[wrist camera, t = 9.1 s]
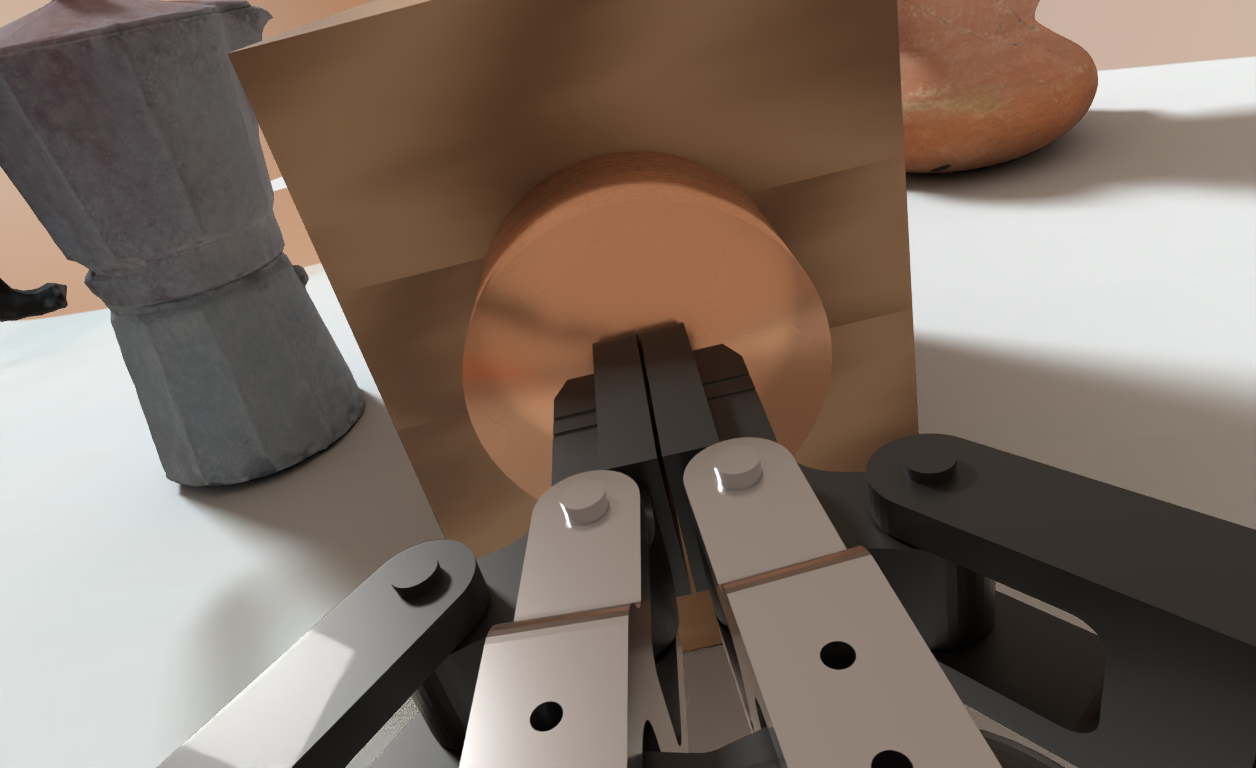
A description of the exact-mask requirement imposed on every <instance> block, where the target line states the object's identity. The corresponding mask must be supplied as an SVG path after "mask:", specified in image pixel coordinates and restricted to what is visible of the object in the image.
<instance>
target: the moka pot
mask: <svg viewBox="0 0 1256 768" xmlns="http://www.w3.org/2000/svg"><path fill="white" fill-rule="evenodd" d="M271 18H273V17H272V15H271V14H270V13H269V12H267V11H266V10H264V9H262V8H260V7H255V6H251V5H250V4H249V3H248V2H247V1H241V0H191V1H159V0H52V1H51V2H50V3H49V4H47V5H45V6H44V7H42V8H40V9H38V10H36V11H34V12H32V13H30V14H28V15H26V16H24V17H22V18H20V19H18V20H16V21H14V22H11V23H9V24H7V25H5V26H4V27H2V28H0V166H1V168H3V170H4V171H5V173H6V174H7V176H8V177H9V179H10V180H11V181H12V183H13V184H14V185H15V187H16V188H17V189H18V191H19V192H20V194H21V195H22V196H23V198H24V199H25V200H26V202H27V203H28V205H29V206H30V207H31V209H32V210H33V212H34V213H35V215H36V216H37V218H38V219H39V221H40V222H41V223H42V225H43V226H44V227H45V228H46V230H47V231H48V233H49V234H50V236H51V237H52V239H53V240H54V242H55V243H56V245H57V246H58V247H59V248H60V250H61V251H62V252H63V254H64V255H65V257H66V258H67V259H68V260H71V261H76V262H78V263H80V264H82V265H84V266H85V267H87V268H88V269H89V271H88V273H87V275H86V277H85V282H84V283H85V284H86V285H87V287H88V288H89V289H90V290H91V291H92V293H93V294H95V295H96V296H98V297H99V298H100V299H102V301H103V302H104V303H105V305H106V306H107V307H108V308H109V309H110V311H111V323H112V326H113V328H114V331H115V334H116V338H117V341H118V343H119V346H120V349H121V352H122V356H123V359H124V361H125V364H126V366H127V369H128V371H129V373H130V376H131V378H132V380H133V383H134V385H135V387H136V391H137V395H138V398H139V401H140V404H141V407H142V410H143V412H144V415H145V418H146V420H147V423H148V426H149V429H150V432H151V435H152V439H153V441H154V444H155V446H156V449H157V452H158V455H159V458H160V461H161V463H162V466H163V468H164V470H165V472H166V477H167V478H168V479H169V480H171V481H174V482H176V483H179V484H184V485H186V486H194V487H200V486H223V485H231V484H236V483H241V482H246V481H249V480H252V479H255V478H260V477H264V476H267V475H271V474H274V473H277V472H279V471H281V470H283V469H285V468H287V467H290V466H293V465H295V464H297V463H299V462H301V461H303V460H304V459H305V458H307V457H309V456H311V455H313V454H315V453H317V452H318V451H320V450H323V449H326V448H327V447H328V446H329V445H330V444H332V443H333V442H334V441H336V440H337V439H339V438H340V437H341V436H343V435H344V434H345V433H346V432H347V431H348V430H349V429H350V427H351V426H352V425H353V424H354V423H355V422H356V421H357V419H358V418H359V417H360V416H361V413H362V411H363V408H364V405H365V403H364V398H363V396H362V394H361V392H360V390H359V388H358V386H357V384H356V382H355V380H354V378H353V375H352V373H351V371H350V369H349V367H348V366H347V364H346V362H345V360H344V358H343V356H342V355H341V353H340V351H339V349H338V347H337V346H336V344H335V342H334V340H333V338H332V336H331V335H330V333H329V331H328V329H327V327H326V326H325V324H324V322H323V320H322V319H321V317H320V315H319V313H318V311H317V309H316V307H315V305H314V304H313V302H312V300H311V298H310V296H309V295H308V293H307V291H306V288H305V286H306V284H307V282H308V280H309V278H308V275H307V273H306V272H305V270H304V268H303V267H301V266H298V265H294V266H293V265H292V264H291V262H290V260H289V259H288V257H287V255H285V254H284V253H283V248H284V245H285V244H284V240H283V237H282V234H281V231H280V228H279V225H278V223H277V220H276V218H275V216H274V213H273V202H274V193H273V189H272V185H271V182H270V178H269V174H268V170H267V167H266V163H265V159H264V155H263V151H262V147H261V144H260V140H259V128H258V121H257V119H256V116H255V114H254V112H253V110H252V108H251V105H250V103H249V101H248V99H247V96H246V94H245V92H244V90H243V88H242V85H241V83H240V81H239V79H238V76H237V74H236V72H235V70H234V68H233V65H232V63H231V61H230V59H229V56H228V54H227V53H230V52H233V51H235V50H238V49H241V48H244V47H246V46H249V45H252V44H255V43H257V42H260V41H262V32H263V28H264V26H265V25H266V23H267V22H268V20H270V19H271ZM66 293H67V286H66V285H62V284H56V283H47V284H45V285H43V286H41V287H40V288H37V289H33V290H26V291H23V290H17V289H12V288H10V287H9V286H8V285H7V284H6V283H5V282H4V281H3V280H2V279H1V278H0V321H1V322H4V321H13V320H19V319H22V318H26V317H30V316H38V315H43V314H46V313H49V312H53V311H55V310H58V309H61V308H65V307H66V306H67V305H68V304H67V301H66Z"/></svg>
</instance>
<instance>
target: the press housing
mask: <svg viewBox="0 0 1256 768" xmlns="http://www.w3.org/2000/svg"><path fill="white" fill-rule="evenodd" d="M227 54H228V56H229V59H230V61H231V63H232V65H233V68H234V70H235V72H236V74H237V76H238V79H239V81H240V83H241V85H242V88H243V90H244V92H245V94H246V96H247V99H248V101H249V103H250V105H251V108H252V110H253V112H254V114H255V116H256V119H257V121H258V123H259V125H260V128H261V130H262V132H263V134H264V136H265V139H266V141H267V143H268V145H269V148H270V150H271V152H272V154H273V156H274V159H275V161H276V163H277V165H278V168H279V170H280V172H281V174H282V177H283V179H284V181H285V183H286V185H287V188H288V190H289V192H290V194H291V197H292V199H293V201H294V203H295V205H296V208H297V210H298V212H299V214H300V216H301V219H302V221H303V223H304V225H305V228H306V230H307V232H308V234H309V237H310V239H311V241H312V243H313V245H314V247H315V250H316V252H317V254H318V256H319V259H320V261H321V263H322V265H323V268H324V270H325V272H326V274H327V277H328V279H329V281H330V283H331V285H332V288H333V290H334V292H335V294H336V297H337V299H338V301H339V303H340V305H341V308H342V310H343V312H344V314H345V317H346V319H347V321H348V323H349V325H350V328H351V330H352V332H353V334H354V337H355V339H356V341H357V343H358V345H359V348H360V350H361V352H362V354H363V357H364V359H365V361H366V363H367V365H368V368H369V370H370V372H371V374H372V377H373V379H374V381H375V383H376V386H377V388H378V390H379V392H380V394H381V397H382V399H383V401H384V403H385V406H386V408H387V410H388V412H389V414H390V417H391V419H392V421H393V423H394V426H395V428H396V430H397V432H398V434H399V437H400V439H401V441H402V443H403V446H404V448H405V450H406V452H407V454H408V457H409V459H410V461H411V463H412V466H413V468H414V470H415V472H416V474H417V477H418V479H419V481H420V483H421V486H422V488H423V490H424V492H425V494H426V497H427V499H428V501H429V503H430V506H431V508H432V510H433V512H434V514H435V517H436V519H437V521H438V523H439V526H440V528H441V530H442V532H443V534H444V537H445V539H446V540H453V541H457V542H460V543H462V544H464V545H466V546H467V547H468V548H470V550H471V551H472V553H473V554H474V556H475V559H476V560H477V559H479V558H481V557H483V556H486V555H488V554H490V553H492V552H494V551H496V550H499V549H501V548H503V547H505V546H507V545H509V544H511V543H513V542H515V541H516V540H518V539H519V538H521V537H523V536H524V535H525V534H527V533H528V532H529V529H530V523H531V517H532V513H533V509H534V507H535V505H536V503H537V501H538V500H537V499H536V498H534V497H533V496H531V495H530V494H528V493H527V492H525V491H524V490H522V489H521V488H520V487H519V486H518V485H516V484H515V483H514V482H513V481H512V480H511V479H510V478H508V477H507V476H506V475H505V474H504V473H503V471H502V470H501V469H500V468H499V467H498V466H497V465H496V464H495V462H494V461H493V460H492V459H491V457H490V456H489V454H488V453H487V451H486V450H485V448H484V447H483V445H482V444H481V442H480V440H479V438H478V436H477V434H476V432H475V429H474V427H473V425H472V423H471V420H470V416H469V413H468V410H467V407H466V403H465V396H464V389H463V383H462V371H463V355H464V348H465V342H466V336H467V332H468V328H469V324H470V319H471V315H472V311H473V306H474V302H475V298H476V293H477V289H478V285H479V280H480V276H481V272H482V268H483V264H484V261H485V258H486V255H487V252H488V249H489V247H490V244H491V242H492V240H493V238H494V236H495V234H496V232H497V230H498V229H499V227H500V225H501V224H502V222H503V221H504V219H505V218H506V216H507V215H508V213H509V212H510V211H511V210H512V209H513V208H514V207H515V206H516V204H517V203H518V202H519V201H520V200H521V199H522V198H523V197H524V196H525V195H526V194H527V193H529V192H530V191H531V190H532V189H533V188H534V187H535V186H537V185H538V184H539V183H541V182H542V181H544V180H545V179H547V178H548V177H550V176H551V175H553V174H554V173H556V172H558V171H560V170H562V169H564V168H566V167H568V166H571V165H573V164H575V163H577V162H580V161H583V160H586V159H589V158H593V157H596V156H600V155H605V154H611V153H616V152H628V151H649V152H660V153H667V154H671V155H676V156H680V157H684V158H687V159H690V160H693V161H695V162H698V163H701V164H703V165H706V166H707V167H709V168H711V169H713V170H715V171H717V172H718V173H720V174H722V175H724V176H725V177H726V178H728V179H729V180H730V181H732V182H733V183H735V184H736V185H737V186H739V187H740V188H741V189H742V190H743V191H744V192H745V193H746V194H747V195H748V196H749V197H750V198H751V199H752V200H753V201H754V202H755V204H756V205H757V206H758V208H759V209H760V210H761V212H762V213H763V214H764V216H765V217H766V218H767V220H768V221H769V222H770V224H771V225H772V227H773V228H774V229H775V231H776V232H777V234H778V235H779V236H780V238H781V239H782V240H783V242H784V243H785V245H786V246H787V247H788V249H789V250H790V252H791V253H792V254H793V256H794V257H795V258H796V260H797V261H798V263H799V264H800V265H801V267H802V268H803V270H804V271H805V272H806V274H807V275H808V277H809V278H810V280H811V282H812V283H813V285H814V287H815V289H816V291H817V293H818V295H819V297H820V299H821V302H822V304H823V307H824V310H825V313H826V316H827V319H828V324H829V330H830V335H831V346H832V365H831V374H830V382H829V386H828V390H827V394H826V398H825V401H824V404H823V406H822V409H821V411H820V414H819V416H818V419H817V421H816V423H815V425H814V426H813V428H812V430H811V432H810V433H809V435H808V437H807V439H806V440H805V442H804V443H803V444H802V446H801V447H800V448H799V450H798V451H797V452H796V454H795V455H794V456H793V457H794V459H795V461H796V462H797V463H799V464H801V465H804V466H807V467H809V468H813V469H818V470H824V471H834V472H866V467H867V463H868V461H869V459H870V457H871V456H872V455H873V453H874V452H875V451H876V450H878V449H879V448H880V447H881V446H883V445H885V444H887V443H888V442H890V441H893V440H896V439H898V438H902V437H905V436H910V435H916V434H919V433H918V413H917V393H916V373H915V353H914V333H913V313H912V293H911V273H910V253H909V233H908V213H907V193H906V173H905V153H904V133H903V113H902V93H901V73H900V53H899V33H898V13H897V0H373V1H370V2H367V3H365V4H362V5H359V6H357V7H354V8H351V9H348V10H345V11H343V12H340V13H337V14H335V15H332V16H329V17H326V18H323V19H321V20H318V21H316V22H313V23H310V24H307V25H304V26H302V27H299V28H296V29H293V30H291V31H288V32H285V33H282V34H280V35H277V36H274V37H271V38H269V39H266V40H263V41H260V42H257V43H255V44H252V45H249V46H246V47H244V48H241V49H238V50H235V51H233V52H230V53H227ZM678 523H679V522H678ZM679 529H680V525H679ZM680 534H681V539H682V545H683V550H684V555H685V561H686V566H687V571H688V577H689V582H690V587H691V592H692V594H689V595H684V596H679V597H676V601H677V607H678V613H679V626H678V632H679V636H680V639H681V644H682V652H686V651H690V650H695V649H699V648H704V647H709V646H713V645H718V644H722V640H721V637H720V632H719V628H718V624H717V620H716V616H715V611H714V608H713V603H712V599H711V595H710V591H709V590H706V591H701V592H697V593H696V589H695V585H694V581H693V577H692V573H691V569H690V565H689V561H688V557H687V553H686V549H685V545H684V541H683V537H682V533H681V529H680Z"/></svg>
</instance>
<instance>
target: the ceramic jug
mask: <svg viewBox="0 0 1256 768" xmlns="http://www.w3.org/2000/svg"><path fill="white" fill-rule="evenodd" d="M1039 1H1040V0H897V13H898V33H899V53H900V73H901V93H902V113H903V133H904V153H905V172H913V173H945V172H956V171H964V170H971V169H976V168H982V167H986V166H992V165H995V164H1000V163H1003V162H1007V161H1010V160H1013V159H1016V158H1019V157H1021V156H1024V155H1026V154H1029V153H1031V152H1033V151H1036V150H1038V149H1040V148H1042V147H1044V146H1046V145H1047V144H1049V143H1051V142H1053V141H1054V140H1056V139H1057V138H1059V137H1060V136H1062V135H1063V134H1064V133H1066V132H1067V131H1068V130H1070V129H1071V128H1072V127H1073V126H1074V125H1076V124H1077V123H1078V122H1079V121H1080V120H1081V119H1082V117H1083V116H1084V115H1085V114H1086V112H1087V111H1088V109H1089V108H1090V106H1091V104H1092V102H1093V99H1094V97H1095V94H1096V91H1097V86H1098V75H1097V69H1096V66H1095V64H1094V62H1093V59H1092V58H1091V56H1090V55H1089V53H1087V51H1085V50H1084V49H1083V48H1082V47H1081V46H1079V45H1078V44H1076V43H1074V42H1072V41H1071V40H1069V39H1067V38H1065V37H1062V36H1061V35H1059V34H1057V33H1055V32H1053V31H1051V30H1050V29H1048V28H1046V27H1044V26H1042V25H1041V24H1039V23H1038V22H1037V21H1036V20H1035V18H1034V17H1035V10H1036V7H1037V5H1038V3H1039Z"/></svg>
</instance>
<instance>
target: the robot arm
mask: <svg viewBox="0 0 1256 768" xmlns="http://www.w3.org/2000/svg"><path fill="white" fill-rule="evenodd" d="M640 337H641V342H642V348H643V353H644V359H645V364H646V369H645V365H644V361H643V357H642V353H641V349H640V345H639V341H638V338H637V334H636V333H634V334H630V335H626V336H621V337H617V338H613V339H609V340H604V341H600V342H596V343H593V344H592V349H593V365H594V374H590V375H586V376H581V377H577V378H573V379H568V380H567V381H566V382H565V384H564V385H563V387H562V388H561V390H560V391H559V393H558V394H557V396H556V397H555V399H554V414H553V419H554V422H553V436H554V438H553V449H552V483H551V488H550V489H548V490H547V491H546V492H545V493H544V494H543V495H542V496H541V497H540V499H539V500H538V501H537V503H536V505H535V507H534V509H533V513H532V517H531V523H530V529H529V532H528V533H527V534H525V535H524V536H523V537H521V538H519V539H518V540H516V541H515V542H513V543H511V544H509V545H507V546H505V547H503V548H501V549H499V550H496V551H494V552H492V553H490V554H488V555H486V556H483V557H481V558H479V559H477V560H476V559H475V556H474V554H473V553H472V551H471V550H470V548H468V547H467V546H466V545H464V544H462V543H460V542H457V541H453V540H433V541H428V542H424V543H420V544H417V545H415V546H412V547H410V548H407V549H405V550H403V551H402V552H400V553H398V554H396V555H395V556H393V557H392V558H390V559H389V560H388V561H386V562H385V563H384V564H383V565H382V566H380V567H379V568H378V569H377V570H376V571H375V572H374V573H373V574H372V575H370V576H369V577H368V578H367V579H366V580H365V581H364V582H363V583H362V584H360V585H359V586H358V587H357V588H356V589H355V590H354V591H353V592H351V593H350V594H349V595H348V596H347V597H346V598H345V599H344V600H343V601H341V602H340V603H339V604H338V605H337V606H336V607H335V608H334V609H333V610H331V611H330V612H329V613H328V614H327V615H326V616H325V617H324V618H323V619H321V620H320V621H319V622H318V623H317V624H316V625H315V626H314V627H313V628H311V629H310V630H309V631H308V632H307V633H306V634H305V635H304V636H303V637H301V638H300V639H299V640H298V641H297V642H296V643H295V644H294V645H293V646H291V647H290V648H289V649H288V650H287V651H286V652H285V653H284V654H282V655H281V656H280V657H279V658H278V659H277V660H276V661H275V662H274V663H272V664H271V665H270V666H269V667H268V668H267V669H266V670H265V671H264V672H262V673H261V674H260V675H259V676H258V677H257V678H256V679H255V680H254V681H252V682H251V683H250V684H249V685H248V686H247V687H246V688H245V689H244V690H242V691H241V692H240V693H239V694H238V695H237V696H236V697H235V698H234V699H232V700H231V701H230V702H229V703H228V704H227V705H226V706H225V707H224V708H222V709H221V710H220V711H219V712H218V713H217V714H216V715H215V716H214V717H212V718H211V719H210V720H209V721H208V722H207V723H206V724H205V725H203V726H202V727H201V728H200V729H199V730H198V731H197V732H196V733H195V734H193V735H192V736H191V737H190V738H189V739H188V740H187V741H186V742H185V743H183V744H182V745H181V746H180V747H179V748H178V749H177V750H176V751H175V752H173V753H172V754H171V755H170V756H169V757H168V758H167V759H166V760H165V761H163V762H162V763H161V764H160V765H159V766H158V767H157V768H345V767H346V766H347V765H348V763H349V762H350V761H351V760H352V759H353V758H354V757H355V755H356V754H357V753H358V752H359V751H360V750H361V749H362V748H363V747H364V746H365V745H366V744H367V743H368V742H369V740H370V739H371V738H372V737H373V736H374V735H375V734H376V733H377V732H378V731H379V730H380V729H381V728H382V726H383V725H384V724H385V723H386V722H387V721H388V720H389V719H390V718H391V717H392V716H393V715H394V714H395V712H396V711H397V710H398V709H399V708H400V707H401V706H402V705H403V704H404V703H405V702H406V701H407V700H408V698H409V697H410V696H412V698H413V700H414V702H415V704H416V705H417V707H418V709H419V711H420V712H419V713H418V714H417V715H416V716H415V717H414V718H413V719H412V720H411V721H410V723H409V724H408V725H407V726H406V727H405V728H404V729H403V730H402V731H401V732H400V734H399V735H398V736H397V737H396V738H395V739H394V740H393V741H392V742H391V744H390V745H389V746H388V747H387V748H386V749H385V750H384V751H383V752H382V753H381V755H380V756H379V757H378V758H377V759H376V760H375V761H374V762H373V763H372V764H371V766H370V767H369V768H1064V767H1063V766H1061V765H1059V764H1058V763H1056V762H1054V761H1053V760H1051V759H1049V758H1047V757H1046V756H1044V755H1042V754H1040V753H1038V752H1036V751H1034V750H1032V749H1030V748H1028V747H1026V746H1023V745H1021V744H1019V743H1017V742H1015V741H1013V740H1010V739H1007V738H1004V737H1002V736H999V735H996V734H993V733H990V732H988V731H985V730H981V729H978V727H977V726H976V724H975V723H974V721H973V719H972V718H971V716H970V714H969V713H968V711H967V709H966V708H965V706H964V705H963V703H964V704H966V705H968V706H970V707H972V708H973V709H975V710H977V711H979V712H980V713H982V714H984V715H986V716H988V717H989V718H991V719H993V720H995V721H996V722H998V723H1000V724H1002V725H1004V726H1005V727H1007V728H1009V729H1011V730H1013V731H1014V732H1016V733H1018V734H1020V735H1021V736H1023V737H1025V738H1027V739H1029V740H1030V741H1032V742H1034V743H1036V744H1037V745H1039V746H1041V747H1043V748H1045V749H1046V750H1048V751H1050V752H1052V753H1054V754H1055V755H1057V756H1059V757H1061V758H1062V759H1064V760H1066V761H1068V762H1070V763H1071V764H1073V765H1075V766H1077V767H1078V768H1256V530H1254V529H1251V528H1248V527H1244V526H1241V525H1238V524H1235V523H1232V522H1228V521H1225V520H1222V519H1219V518H1216V517H1212V516H1209V515H1206V514H1203V513H1200V512H1196V511H1193V510H1190V509H1187V508H1183V507H1180V506H1177V505H1174V504H1171V503H1167V502H1164V501H1161V500H1158V499H1155V498H1151V497H1148V496H1145V495H1142V494H1139V493H1135V492H1132V491H1129V490H1126V489H1123V488H1119V487H1116V486H1113V485H1110V484H1106V483H1103V482H1100V481H1097V480H1094V479H1090V478H1087V477H1084V476H1081V475H1078V474H1074V473H1071V472H1068V471H1065V470H1062V469H1058V468H1055V467H1052V466H1049V465H1046V464H1042V463H1039V462H1036V461H1033V460H1030V459H1026V458H1023V457H1020V456H1017V455H1013V454H1010V453H1007V452H1004V451H1001V450H997V449H994V448H991V447H988V446H985V445H981V444H978V443H975V442H972V441H969V440H965V439H962V438H958V437H955V436H950V435H943V434H916V435H910V436H905V437H902V438H898V439H896V440H893V441H890V442H888V443H887V444H885V445H883V446H881V447H880V448H879V449H878V450H876V451H875V452H874V453H873V455H872V456H871V457H870V459H869V461H868V463H867V467H866V472H834V471H824V470H818V469H813V468H809V467H807V466H804V465H801V464H799V463H797V462H796V461H795V459H794V457H793V455H792V454H791V453H790V452H789V450H787V449H786V448H785V447H784V446H782V445H780V444H778V442H777V439H776V437H775V435H774V432H773V430H772V427H771V425H770V422H769V420H768V418H767V415H766V413H765V410H764V408H763V406H762V403H761V401H760V398H759V396H758V393H757V391H756V390H755V386H754V384H753V381H752V379H751V377H750V375H749V372H748V369H747V367H746V365H745V362H744V360H743V357H742V356H741V355H740V354H738V353H737V352H735V351H734V350H732V349H730V348H729V347H727V346H726V345H724V344H719V345H714V346H710V347H706V348H701V349H697V350H693V351H692V349H691V345H690V342H689V339H688V335H687V332H686V329H685V325H684V322H681V323H676V324H672V325H668V326H664V327H659V328H655V329H651V330H647V331H642V332H640ZM646 370H647V373H646ZM647 375H648V377H647ZM648 381H649V382H648ZM677 517H678V518H677ZM678 521H679V523H678ZM679 525H680V529H681V533H682V537H683V541H684V545H685V549H686V553H687V557H688V561H689V565H690V569H691V573H692V577H693V581H694V585H695V589H696V593H697V592H701V591H706V590H709V591H710V595H711V599H712V603H713V608H714V611H715V616H716V620H717V624H718V628H719V632H720V637H721V640H722V644H723V647H724V650H725V653H726V656H727V659H728V662H729V665H730V668H731V672H732V675H733V678H734V681H735V684H736V687H737V690H738V693H739V697H740V700H741V703H742V706H743V709H744V712H745V715H746V718H747V722H748V725H749V728H750V731H751V734H750V735H747V736H745V737H743V738H741V739H739V740H737V741H735V742H733V743H730V744H728V745H726V746H724V747H722V748H720V749H717V750H715V751H712V752H707V753H689V746H688V730H687V715H686V700H685V684H684V669H683V653H682V644H681V639H680V636H679V632H678V626H679V613H678V607H677V601H676V597H679V596H684V595H689V594H692V592H691V587H690V582H689V577H688V571H687V566H686V561H685V555H684V550H683V545H682V539H681V534H680V529H679ZM995 581H997V582H999V583H1001V584H1004V585H1006V586H1008V587H1011V588H1013V589H1015V590H1018V591H1020V592H1022V593H1025V594H1027V595H1029V596H1031V597H1034V598H1036V599H1038V600H1041V601H1043V602H1045V603H1048V604H1050V605H1052V606H1055V607H1057V608H1059V609H1062V610H1064V611H1066V612H1068V613H1070V614H1072V615H1074V616H1076V617H1078V618H1079V619H1081V620H1082V621H1084V622H1085V623H1086V624H1088V625H1089V626H1090V627H1091V628H1092V629H1093V630H1094V631H1095V632H1096V633H1097V634H1098V635H1096V634H1093V633H1091V632H1089V631H1087V630H1084V629H1082V628H1080V627H1077V626H1075V625H1073V624H1071V623H1068V622H1066V621H1064V620H1062V619H1059V618H1057V617H1055V616H1053V615H1050V614H1048V613H1046V612H1044V611H1041V610H1039V609H1037V608H1034V607H1032V606H1030V605H1028V604H1025V603H1023V602H1021V601H1019V600H1016V599H1014V598H1012V597H1010V596H1007V595H1005V594H1003V593H1000V592H998V591H996V590H995ZM962 702H963V703H962Z"/></svg>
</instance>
